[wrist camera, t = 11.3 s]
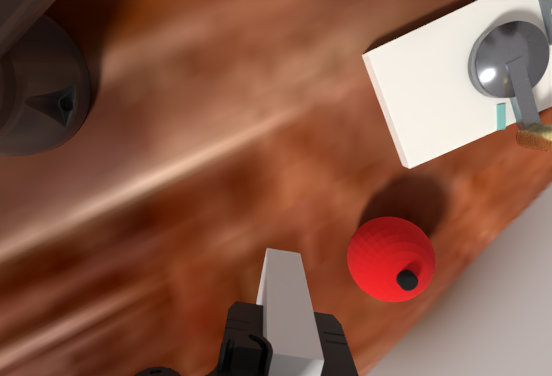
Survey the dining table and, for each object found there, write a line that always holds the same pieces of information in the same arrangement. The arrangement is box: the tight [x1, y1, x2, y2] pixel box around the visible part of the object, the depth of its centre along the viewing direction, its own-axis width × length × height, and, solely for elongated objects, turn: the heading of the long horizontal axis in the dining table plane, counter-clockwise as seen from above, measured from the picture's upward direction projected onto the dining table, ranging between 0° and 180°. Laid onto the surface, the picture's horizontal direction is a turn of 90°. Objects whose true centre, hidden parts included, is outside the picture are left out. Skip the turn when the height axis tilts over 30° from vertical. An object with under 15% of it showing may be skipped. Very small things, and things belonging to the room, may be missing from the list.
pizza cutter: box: [468, 21, 552, 152], centre depth 30 cm, size 13×7×10 cm, turn 25°
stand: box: [362, 0, 552, 169], centre depth 35 cm, size 13×20×4 cm, turn 115°
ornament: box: [347, 217, 435, 302], centre depth 37 cm, size 9×9×10 cm
